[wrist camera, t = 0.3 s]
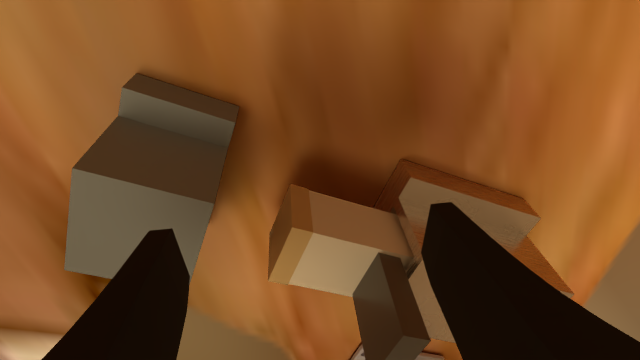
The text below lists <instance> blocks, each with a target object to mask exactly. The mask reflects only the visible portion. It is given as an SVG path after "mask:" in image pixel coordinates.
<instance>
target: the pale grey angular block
mask: <svg viewBox="0 0 640 360" xmlns="http://www.w3.org/2000/svg"><path fill="white" fill-rule="evenodd" d="M413 258H414V255H413V252H412V250H411V248H410V245H409V243H408V240H407V238H406V235H405V233H404V230H403V228H402V226H401V223H400V221H399V218H398V216H397V215H396V214H392V213H389V212H385V211H382V210H378V209H374V208H371V207H367V206H364V205H360V204H356V203H353V202H349V201H346V200H342V199H339V198H335V197H331V196H328V195H324V194H321V193H317V192H313V191H310V190H309V189H308V188H304V187H300V186H297V185H293V184H290V186H289V188H288V191H287V193H286V196H285V198H284V200H283V203H282V205H281V208H280V210H279V212H278V215H277V217H276V220H275V222H274V224H273V227H272V229H271V231H270V238H269V266H268V281H270V282H275V283H280V284H285V285H288V284H292V285H297V286H302V287H306V288H311V289H316V290H321V291H326V292H331V293H336V294H340V295H345V296H350V297H353V300H354V305H355V310H356V315H357V320H358V325H359V330H360V335H361V340H362V345H363V350H364V355H365V360H415V359H416V358H417V356H418V355H419V354H420V353H421V352H422V350H423V349H424V348H425V347H426V346H427V345H428V343H429V342H430V341H431V340H430V338H429V335H428V332H427V329H426V327H425V324H424V321H423V318H422V316H421V313H420V310H419V308H418V305H417V302H416V299H415V297H414V294H413V291H412V288H411V286H410V283H409V280H408V278H407V275H406V272H405V269H406V268H407V267H408V265H409V264H410V262H411V261H412V259H413Z"/></svg>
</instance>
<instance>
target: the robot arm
mask: <svg viewBox="0 0 640 360" xmlns="http://www.w3.org/2000/svg"><path fill="white" fill-rule="evenodd" d="M421 255H422V258H423V262H424V265H425V269H426V272H427V275H428V278H429V282H430V285H431V287H432V290H433V292H434V294H435V297H436V299H437V301H438V304H439V306H440V308H441V311H442V313H443V315H444V317H445V320H446V322H447V324H448V326H449V329H450V331H451V333H452V335H453V338H454V340H455V342H456V344H457V347H458V349H459V351H460V354H461V356H462V358H463V360H640V342H639V341H637V340H635V339H634V338H632V337H630V336H629V335H627V334H625V333H623V332H622V331H620V330H618V329H617V328H615V327H613V326H612V325H610V324H608V323H607V322H605V321H603V320H602V319H600V318H599V317H597V316H596V315H594V314H592V313H591V312H589V311H588V310H586V309H585V308H583V307H582V306H580V305H579V304H577V303H576V302H574V301H573V300H571V299H570V298H568V297H567V296H565V295H564V294H563V293H561V292H560V291H558V290H557V289H556V288H554V287H553V286H551V285H550V284H549V283H547V282H546V281H545V280H543V279H542V278H541V277H539V276H538V275H537V274H535V273H534V272H533V271H532V270H530V269H529V268H528V267H526V266H525V265H524V264H523V263H521V262H520V261H519V260H518V259H516V258H515V257H514V256H513V255H512V254H510V253H509V252H508V251H507V250H506V249H504V248H503V247H502V246H501V245H500V244H498V243H497V242H496V241H495V240H494V239H493V238H491V237H490V236H489V235H488V234H487V233H486V232H485V231H484V230H482V229H481V228H480V227H479V226H478V225H477V224H476V223H475V222H473V221H472V220H471V219H470V218H469V217H468V216H467V215H466V214H465V213H463V212H462V211H461V210H460V209H459V208H458V207H457V206H456V205H454V204H453V203H452V202H446V203H436V204H431V205H430V210H429V215H428V220H427V225H426V230H425V235H424V240H423V245H422V250H421ZM189 282H190V275H189V272H188V270H187V267H186V264H185V262H184V259H183V256H182V253H181V251H180V248H179V245H178V242H177V240H176V237H175V234H174V232H173V229H172V228H171V229H160V230H150V231H149V232H148V233H147V234H146V235H145V236H144V238H143V239H142V240H141V242H140V243H139V244H138V246H137V247H136V248H135V250H134V251H133V252H132V254H131V255H130V256H129V258H128V259H127V260H126V262H125V263H124V264H123V265H122V267H121V268H120V269H119V271H118V272H117V273H116V275H115V276H114V277H113V278H112V280H111V281H110V282H109V283H108V285H107V286H106V287H105V288H104V290H103V291H102V292H101V293H100V295H99V296H98V297H97V298H96V300H95V301H94V302H93V303H92V304H91V306H90V307H89V308H88V309H87V310H86V311H85V312H84V314H83V315H82V316H81V317H80V318H79V319H78V320H77V322H76V323H75V324H74V325H73V326H72V327H71V329H70V330H69V331H68V332H67V333H66V334H65V335H64V336H63V337H62V339H61V340H60V341H59V342H58V343H57V344H56V345H55V346H54V347H53V348H52V349H51V350H50V351H49V352H48V353H47V354H46V356H45V357H44V358H43V359H42V360H176V358H177V354H178V349H179V345H180V340H181V336H182V331H183V326H184V322H185V317H186V312H187V304H188V294H189ZM351 360H365V355H364V350H363V345H361V346H360V347H359V348H358V350H357V351H356V353H355V354H354V355H353V357H352V358H351ZM415 360H445V359H444V357H443V356H440V355H434V354H428V353H423V352H421V353H420V354H419V355H418V356H417V358H416V359H415Z"/></svg>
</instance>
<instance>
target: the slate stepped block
mask: <svg viewBox="0 0 640 360" xmlns="http://www.w3.org/2000/svg"><path fill="white" fill-rule="evenodd" d="M238 110H239V106H236V105H233V104H230V103H227V102H224V101H221V100H217V99H214V98H211V97H208V96H205V95H202V94H199V93H196V92H193V91H190V90H187V89H183V88H180V87H177V86H174V85H171V84H168V83H165V82H162V81H159V80H156V79H153V78H150V77H146V76H143V75H140V74H137V73H136V74H135V75H134V76H133V77H132V78H131V79H130V80H129V81H128V82H127V83H126V84H125V85H124V86H123V87H122V92H121V99H120V107H119V114H118V117H117V118H116V119H115V120H114V121H113V122H112V123H111V125H110V126H109V127H108V128H107V129H106V130H105V131H104V133H103V134H102V135H101V136H100V137H99V138H98V139H97V141H96V142H95V143H94V144H93V145H92V146H91V147H90V148H89V150H88V151H87V152H86V153H85V154H84V155H83V156H82V158H81V159H80V160H79V161H78V162H77V163H76V164H75V166H74V167H73V168H72V177H71V190H70V203H69V216H68V229H67V242H66V255H65V268H64V270H67V271H73V272H78V273H83V274H89V275H94V276H100V277H105V278H110V279H112V278H113V277H114V276H115V275H116V273H117V272H118V271H119V269H120V268H121V267H122V265H123V264H124V263H125V262H126V260H127V259H128V258H129V256H130V255H131V254H132V252H133V251H134V250H135V248H136V247H137V246H138V244H139V243H140V242H141V240H142V239H143V238H144V236H145V235H146V234H147V233H148V232H149V231H150V230H160V229H171V228H172V229H173V232H174V234H175V237H176V240H177V242H178V245H179V248H180V251H181V253H182V256H183V259H184V262H185V264H186V267H187V270H188V272H189V275H190V281H191V278H192V275H193V271H194V268H195V265H196V262H197V258H198V255H199V252H200V249H201V245H202V242H203V239H204V236H205V232H206V229H207V226H208V223H209V220H210V216H211V213H212V210H213V207H214V203H215V199H216V195H217V191H218V187H219V183H220V178H221V174H222V170H223V166H224V162H225V158H226V154H227V150H228V146H229V143H230V139H231V136H232V133H233V130H234V126H235V123H236V119H237V114H238ZM189 284H190V282H189Z"/></svg>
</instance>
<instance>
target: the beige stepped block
mask: <svg viewBox="0 0 640 360" xmlns="http://www.w3.org/2000/svg"><path fill="white" fill-rule="evenodd" d="M446 202H452V203H453V204H454V205H456V206H457V207H458V208H459V209H460V210H461V211H462V212H463V213H465V214H466V215H467V216H468V217H469V218H470V219H471V220H472V221H473V222H475V223H476V224H477V225H478V226H479V227H480V228H481V229H482V230H484V231H485V232H486V233H487V234H488V235H489V236H490V237H491V238H493V239H494V240H495V241H496V242H497V243H498V244H500V245H501V246H502V247H503V248H504V249H506V250H507V251H508V252H509V253H510V254H512V255H513V256H514V257H515V258H516V259H518V260H519V261H520V262H521V263H523V264H524V265H525V266H526V267H528V268H529V269H530V270H532V271H533V272H534V273H535V274H537V275H538V276H539V277H541V278H542V279H543V280H545V281H546V282H547V283H549V284H550V285H551V286H553V287H554V288H556V289H557V290H558V291H560V292H561V293H563V294H564V295H565V296H567V297H568V298H571V297H572V296H573V295H574V293H573V292H572V291H571V290H570V288H569V287H568V286H567V285H566V284H565V282H564V281H563V280H562V279H561V277H560V276H559V275H558V274H557V272H556V271H555V270H554V269H553V267H552V266H551V265H550V264H549V263H548V261H547V260H546V259H545V258H544V256H543V255H542V254H541V253H540V251H539V250H538V249H537V248H536V246H535V245H534V244H533V243H532V241H531V240H530V239H529V238H528V237H527V234H528V233H529V232H530V231H531V229H532V228H533V227H534V226H535V225H536V223H537V222H538V221H539V220H540V219H541V217H540V216H539V215H538V214H537V213H536V212H535V211H534V210H533V209H532V208H531V206H530V205H529V204H528V203H527V202H526V201H525V200H524V199H523V198H520V197H517V196H514V195H511V194H508V193H504V192H501V191H498V190H495V189H492V188H489V187H486V186H483V185H480V184H477V183H474V182H470V181H467V180H464V179H461V178H458V177H455V176H452V175H449V174H446V173H443V172H440V171H437V170H433V169H430V168H427V167H424V166H421V165H418V164H415V163H412V162H409V161H406V160H403V159H401V160H400V161H399V163H398V165H397V167H396V168H395V170H394V172H393V174H392V176H391V177H390V179H389V181H388V183H387V184H386V186H385V188H384V190H383V191H382V193H381V195H380V197H379V198H378V200H377V202H376V204H375V206H374V207H373V208H374V209H378V210H382V211H385V212H389V213H392V214H396V215H397V216H398V218H399V221H400V223H401V226H402V228H403V230H404V233H405V235H406V238H407V240H408V243H409V245H410V248H411V250H412V252H413V255H414V258H413V259H412V261H411V262H410V264H409V265H408V267H407V268H406V269H405V272H406V275H407V278H408V280H409V283H410V286H411V288H412V291H413V294H414V297H415V299H416V302H417V305H418V308H419V310H420V313H421V316H422V318H423V321H424V324H425V327H426V329H427V332H428V335H429V338H432V339H438V340H443V341H448V342H454V343H456V342H455V340H454V338H453V335H452V333H451V331H450V329H449V326H448V324H447V322H446V320H445V317H444V315H443V313H442V311H441V308H440V306H439V304H438V301H437V299H436V297H435V294H434V292H433V290H432V287H431V285H430V282H429V278H428V275H427V272H426V269H425V265H424V262H423V258H422V255H421V250H422V245H423V240H424V235H425V230H426V225H427V220H428V215H429V210H430V205H431V204H436V203H446Z"/></svg>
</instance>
